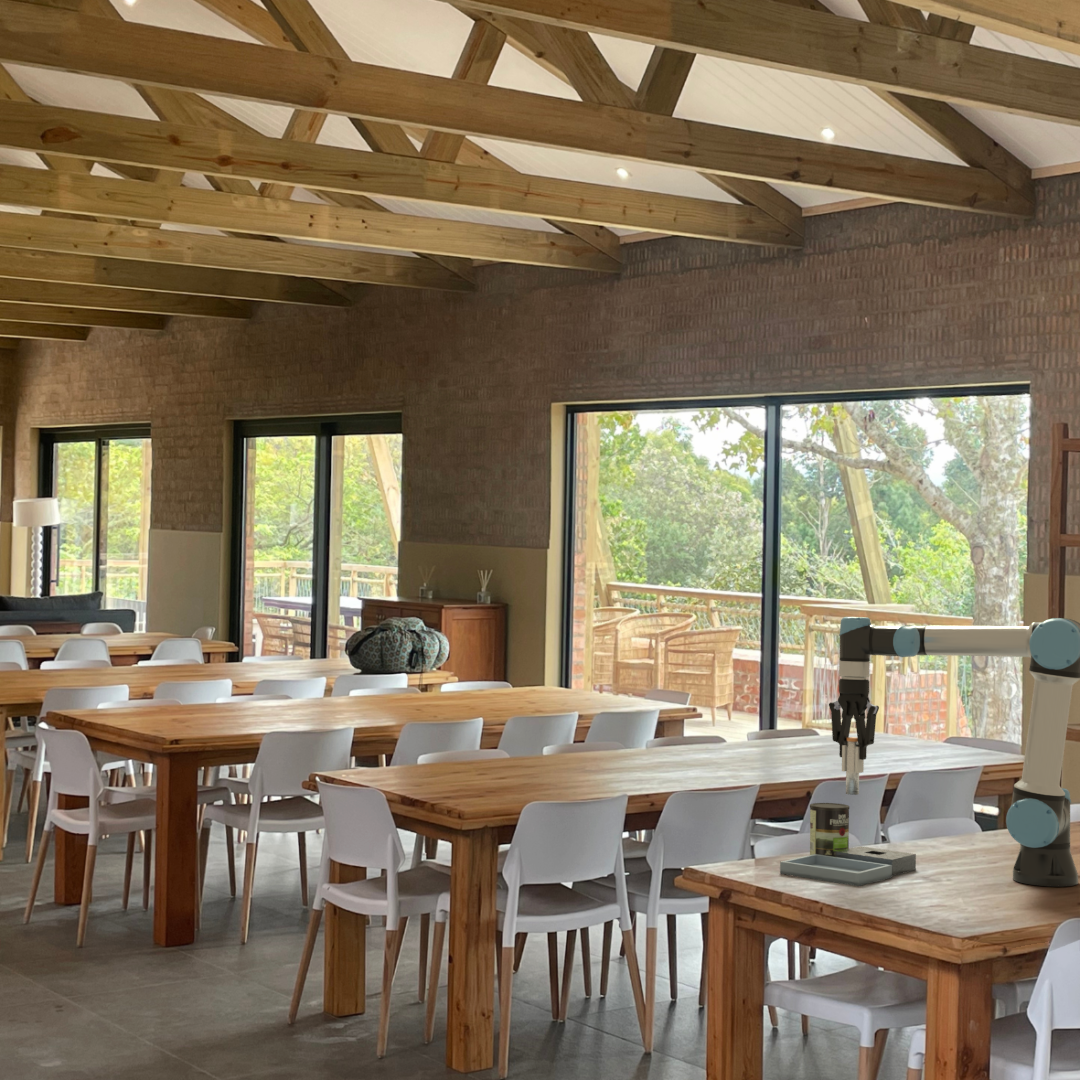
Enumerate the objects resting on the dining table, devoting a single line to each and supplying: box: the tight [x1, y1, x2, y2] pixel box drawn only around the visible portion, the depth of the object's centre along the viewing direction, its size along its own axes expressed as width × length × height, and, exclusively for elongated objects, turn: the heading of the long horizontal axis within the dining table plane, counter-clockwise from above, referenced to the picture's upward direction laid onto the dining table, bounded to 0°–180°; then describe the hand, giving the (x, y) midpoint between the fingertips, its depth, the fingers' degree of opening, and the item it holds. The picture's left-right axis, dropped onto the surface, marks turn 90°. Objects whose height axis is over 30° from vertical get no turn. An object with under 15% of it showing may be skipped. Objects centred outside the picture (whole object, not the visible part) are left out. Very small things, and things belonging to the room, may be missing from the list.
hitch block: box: [836, 845, 917, 877], centre depth 378 cm, size 16×12×4 cm
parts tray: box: [779, 854, 893, 887], centre depth 368 cm, size 22×16×3 cm
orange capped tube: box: [845, 736, 860, 796], centre depth 374 cm, size 3×3×14 cm
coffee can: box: [809, 802, 850, 857], centre depth 392 cm, size 10×10×14 cm
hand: (852, 771), depth 374 cm, fingers closed on orange capped tube, 3 cm apart
